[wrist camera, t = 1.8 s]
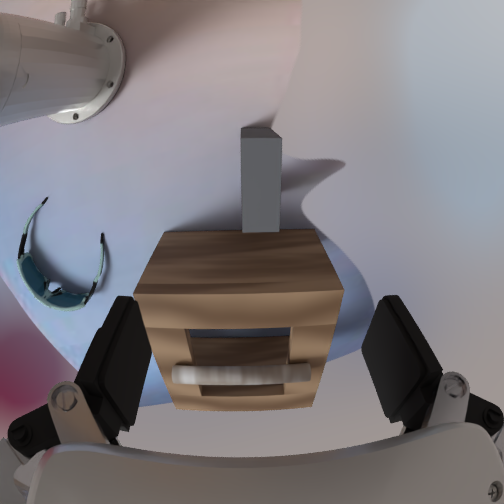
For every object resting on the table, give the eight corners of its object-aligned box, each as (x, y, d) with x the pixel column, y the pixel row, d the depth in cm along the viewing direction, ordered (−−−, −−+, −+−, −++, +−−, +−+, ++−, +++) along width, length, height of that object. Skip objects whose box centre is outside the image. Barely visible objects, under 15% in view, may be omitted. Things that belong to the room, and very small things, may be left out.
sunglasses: (24, 266, 35) (8, 280, 30) (45, 186, 31) (26, 194, 26) (89, 309, 39) (78, 328, 35) (121, 235, 35) (109, 249, 31)
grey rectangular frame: (241, 128, 27) (240, 138, 19) (269, 127, 27) (282, 138, 19) (242, 195, 31) (242, 232, 23) (269, 195, 31) (279, 231, 23)
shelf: (164, 232, 33) (126, 308, 21) (314, 229, 33) (351, 304, 21) (186, 345, 43) (174, 421, 31) (299, 343, 43) (313, 419, 31)
